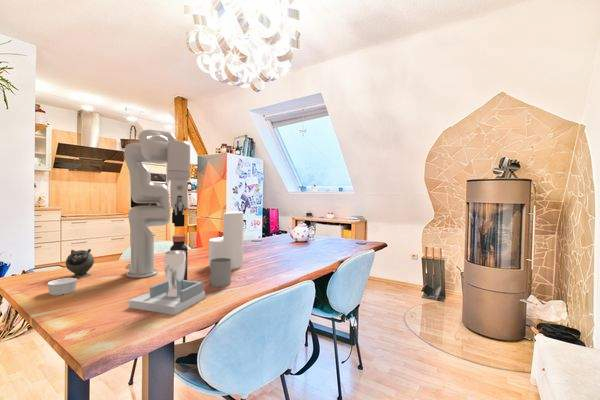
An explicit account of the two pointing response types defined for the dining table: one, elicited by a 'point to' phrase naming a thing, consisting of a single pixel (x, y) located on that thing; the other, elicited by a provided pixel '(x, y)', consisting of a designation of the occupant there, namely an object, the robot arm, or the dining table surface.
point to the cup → (220, 272)
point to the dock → (167, 305)
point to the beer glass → (175, 272)
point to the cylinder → (229, 240)
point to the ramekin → (62, 286)
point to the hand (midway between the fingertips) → (177, 224)
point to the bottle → (180, 247)
